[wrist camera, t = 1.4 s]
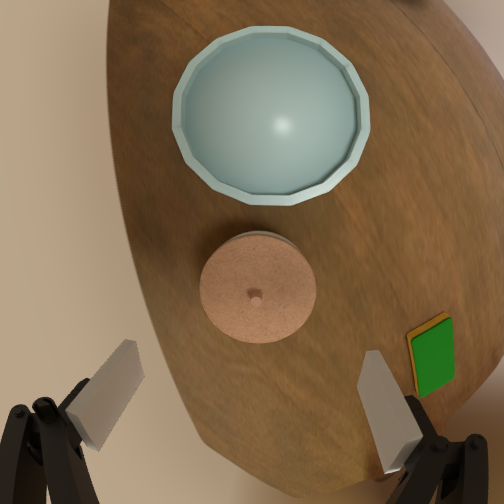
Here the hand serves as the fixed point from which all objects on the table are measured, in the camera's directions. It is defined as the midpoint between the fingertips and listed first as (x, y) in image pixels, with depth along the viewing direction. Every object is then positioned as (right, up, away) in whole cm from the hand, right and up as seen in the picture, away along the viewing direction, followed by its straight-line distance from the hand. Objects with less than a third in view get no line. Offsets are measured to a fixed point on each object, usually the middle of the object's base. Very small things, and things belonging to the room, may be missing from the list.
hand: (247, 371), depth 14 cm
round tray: (+2, +22, +13) cm, 26 cm away
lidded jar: (+1, +5, +18) cm, 19 cm away
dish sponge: (+28, -9, +20) cm, 36 cm away
